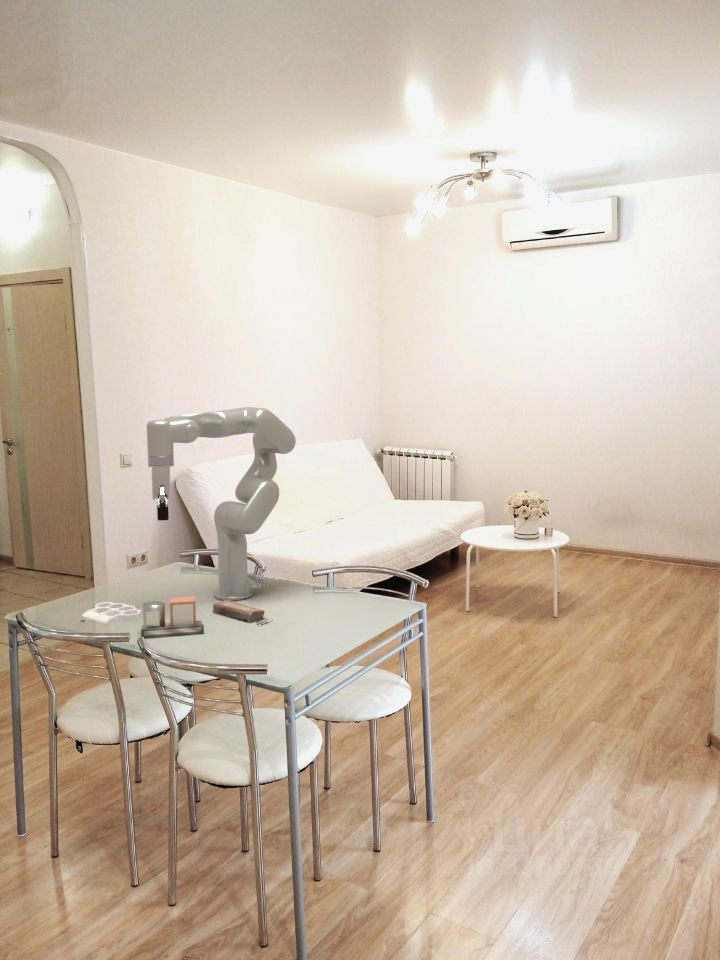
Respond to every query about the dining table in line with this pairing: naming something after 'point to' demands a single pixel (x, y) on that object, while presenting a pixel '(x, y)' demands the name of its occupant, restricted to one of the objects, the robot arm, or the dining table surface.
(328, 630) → the dining table surface
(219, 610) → the packaged product
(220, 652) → the dining table surface
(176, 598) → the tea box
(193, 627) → the shelf board
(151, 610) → the tin
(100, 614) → the knuckle duster
